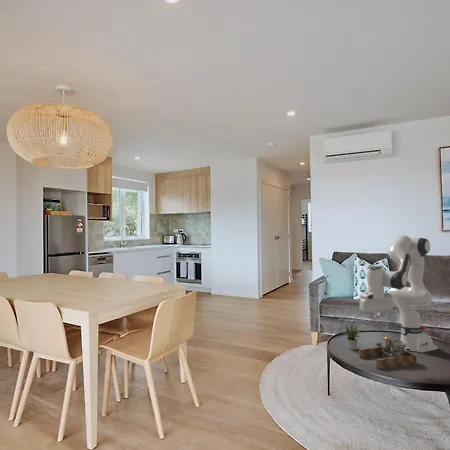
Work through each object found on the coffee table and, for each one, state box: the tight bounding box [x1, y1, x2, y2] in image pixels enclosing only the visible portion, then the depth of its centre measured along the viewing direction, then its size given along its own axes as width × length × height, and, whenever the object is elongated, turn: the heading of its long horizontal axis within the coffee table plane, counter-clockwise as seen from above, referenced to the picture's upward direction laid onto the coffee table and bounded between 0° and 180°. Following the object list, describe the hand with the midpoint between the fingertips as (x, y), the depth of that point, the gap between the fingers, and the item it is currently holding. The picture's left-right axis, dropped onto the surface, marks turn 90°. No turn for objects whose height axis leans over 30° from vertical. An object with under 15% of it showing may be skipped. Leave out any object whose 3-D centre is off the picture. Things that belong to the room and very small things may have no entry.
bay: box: [358, 345, 418, 370], centre depth 195 cm, size 25×19×6 cm
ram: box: [376, 336, 401, 358], centre depth 196 cm, size 3×19×13 cm, turn 11°
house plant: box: [342, 323, 362, 351], centre depth 217 cm, size 14×14×16 cm
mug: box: [390, 338, 407, 357], centre depth 196 cm, size 12×9×11 cm
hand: (377, 317), depth 195 cm, fingers closed
